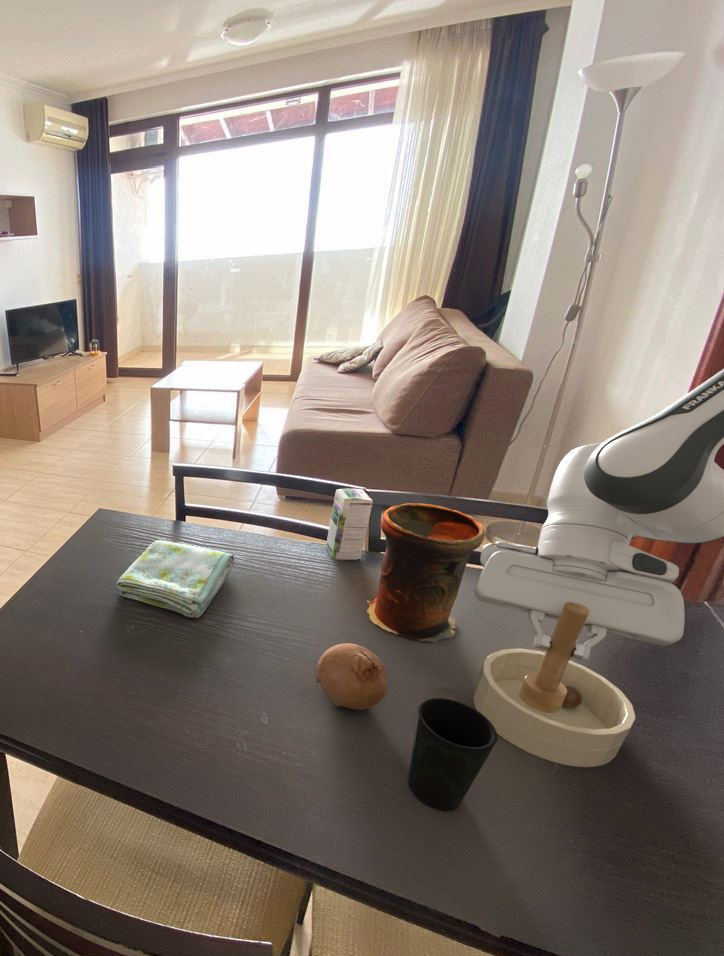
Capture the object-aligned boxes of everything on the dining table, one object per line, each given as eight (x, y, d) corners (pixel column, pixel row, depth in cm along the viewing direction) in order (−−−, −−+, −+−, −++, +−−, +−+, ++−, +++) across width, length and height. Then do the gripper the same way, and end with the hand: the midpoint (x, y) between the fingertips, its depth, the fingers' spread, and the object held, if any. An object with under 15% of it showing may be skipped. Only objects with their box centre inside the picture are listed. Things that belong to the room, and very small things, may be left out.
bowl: (581, 689, 80) (595, 658, 78) (645, 779, 67) (665, 745, 65) (458, 671, 85) (468, 641, 83) (496, 752, 72) (508, 720, 69)
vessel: (404, 586, 106) (426, 495, 97) (476, 629, 93) (508, 529, 85) (345, 605, 102) (362, 511, 94) (412, 652, 90) (439, 549, 81)
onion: (366, 728, 80) (402, 707, 73) (302, 703, 82) (331, 679, 75) (369, 671, 86) (403, 646, 78) (309, 649, 88) (337, 622, 80)
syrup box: (324, 546, 121) (334, 488, 115) (352, 546, 120) (363, 488, 114) (332, 560, 116) (343, 499, 110) (362, 560, 115) (374, 499, 109)
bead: (566, 711, 78) (576, 693, 78) (582, 713, 75) (592, 695, 75) (544, 697, 78) (554, 680, 79) (559, 699, 76) (569, 681, 76)
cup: (391, 794, 68) (410, 725, 63) (406, 754, 73) (425, 687, 68) (464, 832, 63) (492, 762, 58) (476, 787, 68) (502, 718, 63)
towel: (112, 597, 110) (112, 576, 108) (157, 550, 125) (157, 530, 123) (198, 625, 100) (199, 603, 98) (235, 570, 115) (236, 549, 113)
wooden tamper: (551, 692, 76) (589, 599, 69) (566, 715, 73) (608, 620, 66) (513, 686, 78) (547, 595, 71) (526, 709, 74) (563, 615, 67)
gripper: (487, 531, 77) (466, 622, 74) (698, 570, 65) (681, 681, 62) (481, 544, 82) (461, 630, 79) (676, 583, 70) (660, 686, 67)
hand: (560, 653), depth 71 cm, fingers closed on wooden tamper, 2 cm apart
